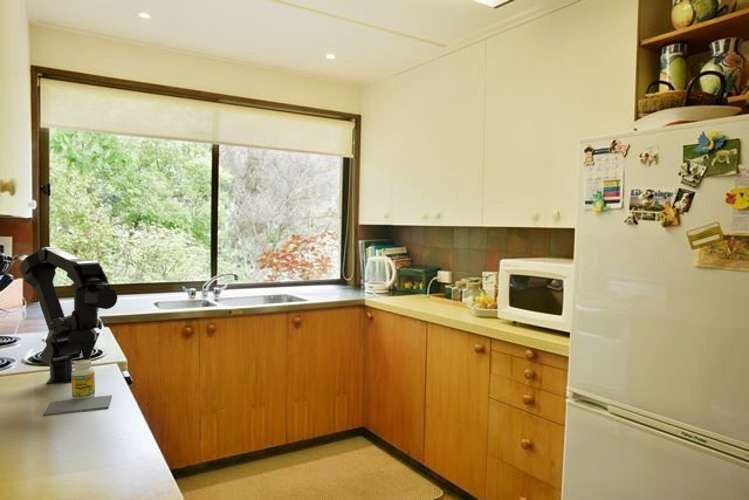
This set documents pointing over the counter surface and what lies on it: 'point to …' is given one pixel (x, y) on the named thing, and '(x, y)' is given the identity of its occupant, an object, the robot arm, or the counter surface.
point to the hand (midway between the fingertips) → (86, 360)
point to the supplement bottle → (83, 380)
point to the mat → (78, 405)
